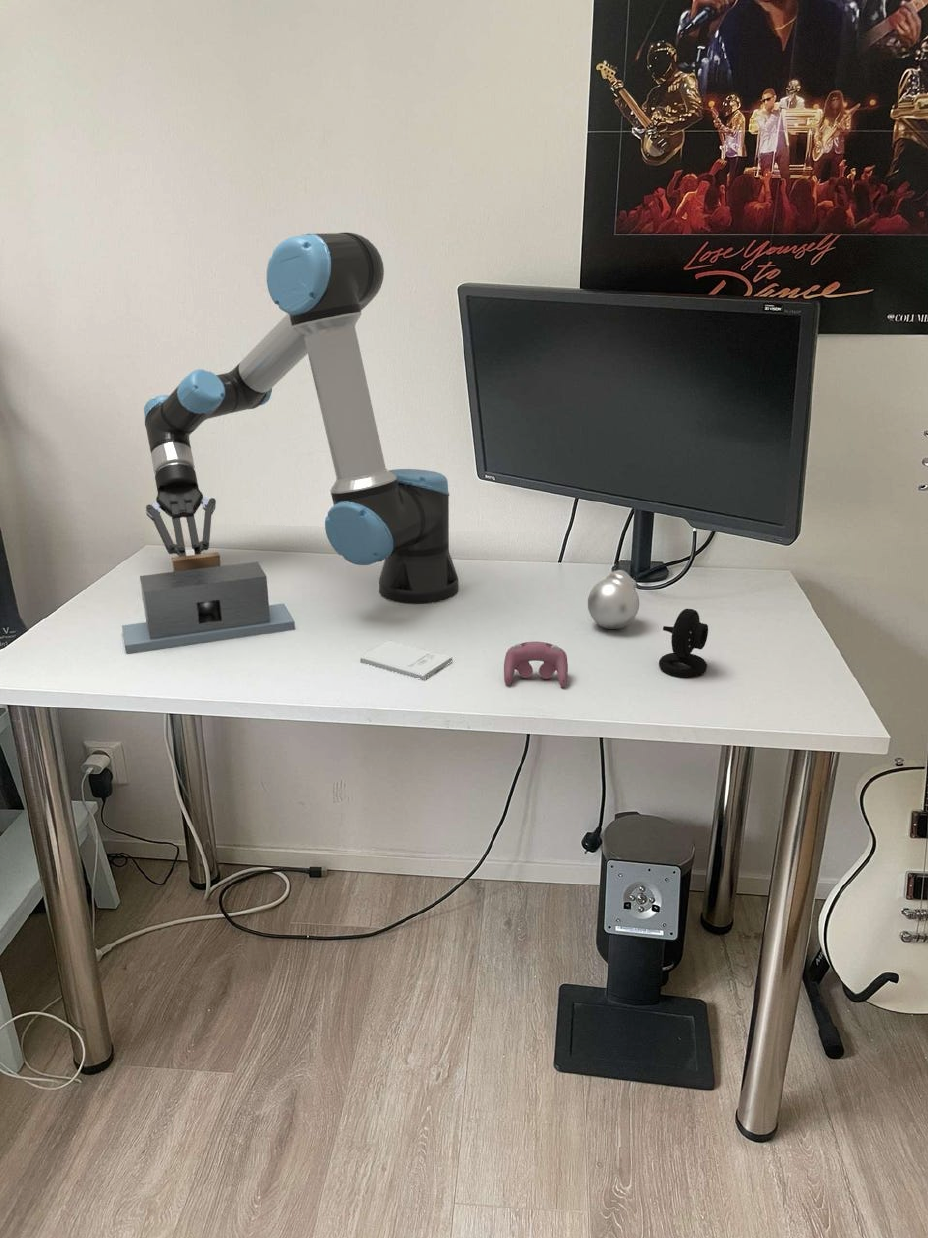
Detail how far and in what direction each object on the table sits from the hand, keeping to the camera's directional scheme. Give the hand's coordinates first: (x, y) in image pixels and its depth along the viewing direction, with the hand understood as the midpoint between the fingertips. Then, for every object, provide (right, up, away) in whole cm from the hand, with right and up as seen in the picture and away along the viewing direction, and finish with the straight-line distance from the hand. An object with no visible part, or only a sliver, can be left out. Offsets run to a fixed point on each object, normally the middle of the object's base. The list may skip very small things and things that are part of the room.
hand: (195, 584), depth 183 cm
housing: (+5, -8, -9) cm, 13 cm away
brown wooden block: (+3, -7, -4) cm, 8 cm away
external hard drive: (+39, -14, -20) cm, 46 cm away
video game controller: (+60, -16, -26) cm, 67 cm away
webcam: (+83, -14, -23) cm, 88 cm away
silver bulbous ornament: (+75, -8, -7) cm, 75 cm away
